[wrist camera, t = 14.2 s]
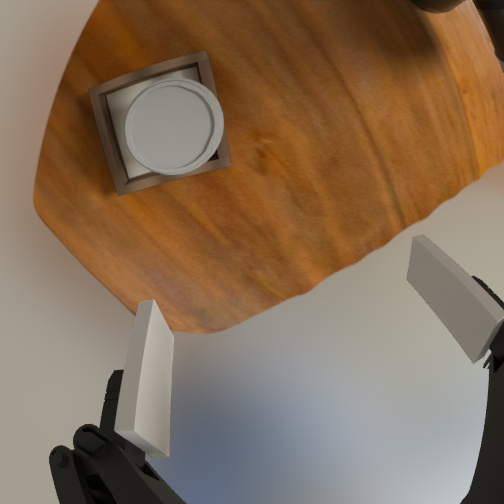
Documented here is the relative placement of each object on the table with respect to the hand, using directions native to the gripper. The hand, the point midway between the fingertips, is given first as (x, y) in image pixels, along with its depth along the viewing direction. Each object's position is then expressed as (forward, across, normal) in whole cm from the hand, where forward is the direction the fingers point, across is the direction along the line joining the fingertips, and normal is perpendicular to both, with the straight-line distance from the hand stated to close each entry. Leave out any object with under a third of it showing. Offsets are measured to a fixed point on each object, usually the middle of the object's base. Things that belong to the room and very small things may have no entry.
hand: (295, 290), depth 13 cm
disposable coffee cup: (+28, -6, +7) cm, 29 cm away
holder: (+29, -9, +8) cm, 31 cm away
